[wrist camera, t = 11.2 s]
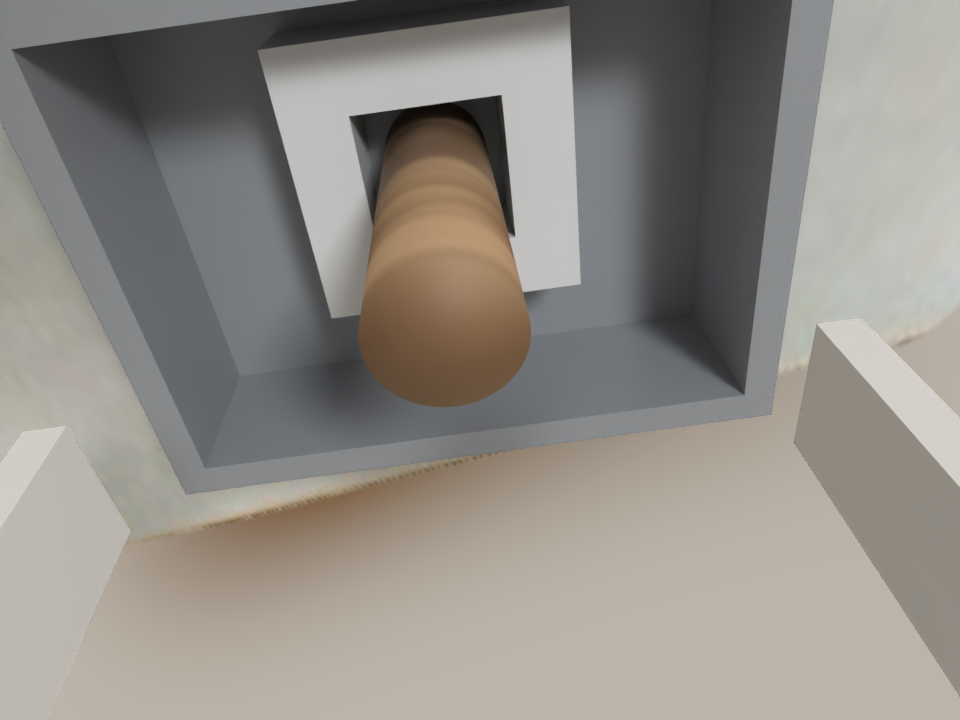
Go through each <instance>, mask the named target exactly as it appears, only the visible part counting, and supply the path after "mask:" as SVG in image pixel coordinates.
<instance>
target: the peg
mask: <svg viewBox="0 0 960 720" xmlns="http://www.w3.org/2000/svg"><path fill="white" fill-rule="evenodd" d="M530 341H531V324H530V319H529V314H528V310H527V306H526V302H525V298H524V294H523V290H522V286H521V283H520V279H519V275H518V271H517V267H516V263H515V259H514V255H513V251H512V247H511V243H510V239H509V235H508V231H507V227H506V223H505V219H504V215H503V211H502V207H501V203H500V199H499V195H498V191H497V187H496V183H495V179H494V175H493V171H492V167H491V164H490V160H489V156H488V152H487V148H486V144H485V140H484V136H483V133H482V131H481V129H480V127H479V125H478V123H477V122H476V120H475V119H474V118H473V117H472V116H471V115H470V114H469V113H468V112H467V111H466V110H464V109H463V108H461V107H459V106H457V105H455V104H453V103H450V102H447V103H440V104H433V105H426V106H419V107H412V108H407V109H405V110H404V111H403V112H402V113H401V114H400V115H399V116H398V117H397V118H396V119H395V120H394V122H393V123H392V125H391V127H390V129H389V131H388V134H387V138H386V143H385V150H384V157H383V164H382V171H381V177H380V184H379V191H378V198H377V205H376V212H375V218H374V225H373V232H372V239H371V246H370V252H369V259H368V266H367V273H366V280H365V287H364V293H363V300H362V307H361V314H360V321H359V328H358V342H359V348H360V352H361V355H362V358H363V361H364V362H365V364H366V366H367V368H368V370H369V371H370V373H371V374H372V375H373V377H374V378H375V379H376V380H377V381H378V382H379V383H380V384H381V385H382V386H384V387H385V388H386V389H387V390H389V391H390V392H392V393H393V394H395V395H396V396H399V397H401V398H403V399H405V400H407V401H410V402H413V403H416V404H420V405H425V406H432V407H456V406H462V405H467V404H470V403H474V402H477V401H480V400H482V399H484V398H487V397H489V396H490V395H492V394H494V393H496V392H497V391H498V390H500V389H501V388H503V387H504V386H505V385H506V384H507V383H508V382H509V381H511V380H512V378H513V377H514V376H515V375H516V374H517V372H518V371H519V369H520V368H521V366H522V365H523V363H524V361H525V359H526V356H527V354H528V350H529V347H530Z"/></svg>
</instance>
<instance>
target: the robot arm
mask: <svg viewBox="0 0 960 720" xmlns="http://www.w3.org/2000/svg"><path fill="white" fill-rule="evenodd" d="M794 444H795V445H796V447H797V448H798V450H799V451H800V453H801V455H802V456H803V457H804V459H805V461H806V462H807V464H808V465H809V467H810V468H811V470H812V471H813V473H814V474H815V476H816V477H817V479H818V480H819V482H820V483H821V485H822V487H823V488H824V490H825V491H826V493H827V494H828V496H829V497H830V499H831V500H832V502H833V503H834V505H835V506H836V508H837V509H838V511H839V513H840V514H841V515H842V517H843V519H844V520H845V522H846V523H847V525H848V526H849V528H850V529H851V531H852V532H853V534H854V536H855V537H856V538H857V540H858V542H859V543H860V545H861V546H862V548H863V549H864V551H865V552H866V554H867V555H868V557H869V559H870V560H871V562H872V563H873V565H874V566H875V568H876V569H877V571H878V572H879V574H880V575H881V577H882V578H883V580H884V581H885V583H886V585H887V586H888V587H889V589H890V591H891V592H892V594H893V595H894V597H895V598H896V600H897V601H898V603H899V604H900V606H901V607H902V609H903V610H904V612H905V614H906V615H907V617H908V618H909V620H910V621H911V623H912V624H913V626H914V627H915V629H916V630H917V632H918V633H919V635H920V637H921V638H922V639H923V641H924V642H925V644H926V646H927V647H928V649H929V650H930V652H931V653H932V655H933V656H934V658H935V659H936V661H937V663H938V664H939V665H940V667H941V669H942V670H943V672H944V673H945V675H946V676H947V678H948V679H949V681H950V682H951V684H952V685H953V687H954V689H955V690H956V692H957V693H958V695H959V696H960V418H959V417H958V416H957V415H956V414H955V413H954V412H953V411H952V410H951V409H950V408H949V407H948V405H947V404H946V403H945V402H944V401H942V399H940V397H939V396H938V395H937V394H936V393H935V392H934V391H932V389H931V388H930V387H929V386H928V385H927V384H926V383H925V382H924V381H923V380H922V379H921V378H920V377H919V376H918V375H917V374H916V373H915V372H914V371H913V370H912V369H911V368H910V367H909V366H908V365H907V364H906V363H905V362H904V361H903V360H902V359H901V358H900V357H899V356H898V355H897V354H896V353H895V352H894V351H893V350H892V349H891V348H890V347H889V346H888V345H887V344H886V343H885V342H884V341H883V340H882V339H881V338H880V337H879V336H878V335H877V334H876V333H875V332H874V331H873V330H872V329H871V328H870V327H869V326H868V325H867V324H866V322H865V321H864V320H863V319H862V318H857V319H850V320H842V321H835V322H827V323H820V324H817V325H816V330H815V335H814V340H813V345H812V351H811V356H810V361H809V366H808V371H807V377H806V382H805V387H804V392H803V397H802V402H801V408H800V413H799V417H798V423H797V428H796V433H795V438H794ZM130 532H131V531H130V529H129V528H128V526H127V525H126V523H125V521H124V520H123V518H122V516H121V515H120V513H119V511H118V510H117V508H116V506H115V505H114V503H113V502H112V500H111V498H110V497H109V495H108V493H107V492H106V490H105V488H104V487H103V485H102V483H101V482H100V480H99V479H98V477H97V475H96V474H95V472H94V470H93V469H92V467H91V465H90V464H89V462H88V460H87V459H86V457H85V455H84V454H83V452H82V451H81V449H80V447H79V446H78V444H77V442H76V441H75V439H74V437H73V436H72V434H71V432H70V431H69V429H68V428H67V426H61V427H54V428H46V429H39V430H32V431H24V432H23V433H22V434H21V435H20V437H19V438H18V440H17V441H16V442H15V444H14V445H13V447H12V448H11V449H10V451H9V452H8V454H7V455H6V456H5V458H4V459H3V461H2V462H1V463H0V720H47V719H48V717H49V715H50V713H51V711H52V708H53V706H54V704H55V702H56V699H57V697H58V695H59V693H60V690H61V688H62V686H63V683H64V681H65V679H66V677H67V674H68V672H69V670H70V668H71V665H72V663H73V661H74V659H75V656H76V654H77V652H78V649H79V647H80V645H81V643H82V640H83V638H84V636H85V634H86V631H87V629H88V627H89V624H90V622H91V620H92V618H93V615H94V613H95V611H96V609H97V606H98V604H99V602H100V600H101V597H102V595H103V593H104V591H105V588H106V586H107V584H108V581H109V579H110V577H111V575H112V572H113V570H114V568H115V565H116V563H117V561H118V559H119V556H120V554H121V552H122V549H123V547H124V545H125V543H126V541H127V538H128V536H129V534H130Z"/></svg>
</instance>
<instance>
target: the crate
mask: <svg viewBox="0 0 960 720" xmlns="http://www.w3.org/2000/svg"><path fill="white" fill-rule="evenodd" d="M833 3H834V0H0V121H1V123H2V125H3V127H4V129H5V131H6V133H7V135H8V137H9V139H10V141H11V143H12V145H13V148H14V150H15V152H16V154H17V156H18V158H19V160H20V162H21V164H22V166H23V168H24V170H25V172H26V174H27V176H28V178H29V180H30V182H31V184H32V186H33V188H34V190H35V192H36V194H37V196H38V198H39V200H40V202H41V204H42V206H43V208H44V210H45V212H46V214H47V216H48V218H49V220H50V222H51V224H52V226H53V228H54V230H55V232H56V234H57V236H58V238H59V240H60V242H61V244H62V246H63V248H64V250H65V252H66V254H67V256H68V258H69V260H70V262H71V264H72V266H73V268H74V270H75V272H76V274H77V276H78V278H79V280H80V282H81V284H82V286H83V288H84V290H85V292H86V294H87V296H88V298H89V300H90V302H91V304H92V306H93V308H94V310H95V312H96V314H97V316H98V318H99V320H100V322H101V324H102V326H103V328H104V330H105V332H106V334H107V336H108V338H109V340H110V342H111V344H112V346H113V348H114V350H115V352H116V354H117V356H118V358H119V360H120V362H121V364H122V366H123V369H124V371H125V373H126V375H127V377H128V379H129V381H130V383H131V385H132V387H133V389H134V391H135V393H136V395H137V397H138V399H139V401H140V403H141V405H142V407H143V409H144V411H145V413H146V415H147V417H148V419H149V421H150V423H151V425H152V427H153V429H154V431H155V433H156V435H157V437H158V439H159V441H160V443H161V445H162V447H163V449H164V451H165V453H166V455H167V457H168V459H169V461H170V463H171V465H172V467H173V469H174V471H175V473H176V475H177V477H178V479H179V481H180V483H181V485H182V487H183V489H184V491H185V493H186V494H192V493H199V492H207V491H214V490H221V489H229V488H236V487H243V486H251V485H258V484H265V483H273V482H280V481H287V480H295V479H302V478H310V477H317V476H324V475H332V474H339V473H346V472H354V471H361V470H368V469H376V468H383V467H390V466H398V465H405V464H413V463H420V462H427V461H435V460H442V459H449V458H457V457H464V456H471V455H479V454H486V453H493V452H501V451H508V450H515V449H523V448H530V447H538V446H545V445H552V444H559V443H567V442H574V441H582V440H589V439H596V438H604V437H611V436H618V435H626V434H632V433H640V432H647V431H655V430H663V429H670V428H677V427H685V426H692V425H699V424H706V423H714V422H721V421H728V420H736V419H743V418H751V417H757V416H765V415H771V412H772V406H773V399H774V393H775V386H776V379H777V373H778V366H779V360H780V353H781V346H782V340H783V333H784V327H785V320H786V313H787V307H788V300H789V294H790V287H791V280H792V274H793V267H794V260H795V254H796V247H797V241H798V234H799V227H800V221H801V214H802V208H803V201H804V194H805V188H806V181H807V175H808V168H809V161H810V155H811V148H812V142H813V135H814V128H815V122H816V115H817V108H818V102H819V95H820V89H821V82H822V75H823V69H824V62H825V56H826V49H827V42H828V36H829V29H830V23H831V16H832V9H833ZM447 102H450V103H453V104H455V105H457V106H459V107H461V108H463V109H464V110H466V111H467V112H468V113H469V114H470V115H471V116H472V117H473V118H474V119H475V120H476V122H477V123H478V125H479V127H480V129H481V131H482V133H483V136H484V140H485V144H486V148H487V152H488V156H489V160H490V164H491V167H492V171H493V175H494V179H495V183H496V187H497V191H498V195H499V199H500V203H501V207H502V211H503V215H504V219H505V223H506V227H507V231H508V235H509V239H510V243H511V247H512V251H513V255H514V259H515V263H516V267H517V271H518V275H519V279H520V283H521V286H522V290H523V294H524V298H525V302H526V306H527V310H528V314H529V319H530V324H531V341H530V347H529V350H528V354H527V356H526V359H525V361H524V363H523V365H522V366H521V368H520V369H519V371H518V372H517V374H516V375H515V376H514V377H513V378H512V380H511V381H509V382H508V383H507V384H506V385H505V386H504V387H503V388H501V389H500V390H498V391H497V392H496V393H494V394H492V395H490V396H489V397H487V398H484V399H482V400H480V401H477V402H474V403H470V404H467V405H462V406H456V407H432V406H425V405H420V404H416V403H413V402H410V401H407V400H405V399H403V398H401V397H399V396H396V395H395V394H393V393H392V392H390V391H389V390H387V389H386V388H385V387H384V386H382V385H381V384H380V383H379V382H378V381H377V380H376V379H375V378H374V377H373V375H372V374H371V373H370V371H369V370H368V368H367V366H366V364H365V362H364V361H363V358H362V355H361V352H360V348H359V342H358V328H359V321H360V314H361V307H362V300H363V293H364V287H365V280H366V273H367V266H368V259H369V252H370V246H371V239H372V232H373V225H374V218H375V212H376V205H377V198H378V191H379V184H380V177H381V171H382V164H383V157H384V150H385V143H386V138H387V134H388V131H389V129H390V127H391V125H392V123H393V122H394V120H395V119H396V118H397V117H398V116H399V115H400V114H401V113H402V112H403V111H404V110H405V109H407V108H412V107H419V106H426V105H433V104H440V103H447Z"/></svg>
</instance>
